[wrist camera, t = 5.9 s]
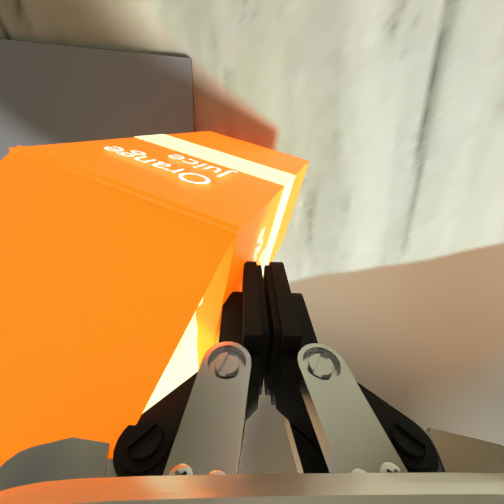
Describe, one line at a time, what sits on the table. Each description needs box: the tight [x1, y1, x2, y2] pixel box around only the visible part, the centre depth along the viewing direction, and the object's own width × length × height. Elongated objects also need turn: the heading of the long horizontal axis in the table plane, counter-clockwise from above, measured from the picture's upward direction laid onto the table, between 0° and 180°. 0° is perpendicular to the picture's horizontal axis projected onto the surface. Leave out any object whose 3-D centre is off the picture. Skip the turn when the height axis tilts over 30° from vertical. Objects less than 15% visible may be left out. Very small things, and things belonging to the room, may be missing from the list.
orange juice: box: [0, 131, 309, 467], centre depth 13 cm, size 8×9×20 cm
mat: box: [0, 39, 194, 161], centre depth 22 cm, size 18×23×1 cm
